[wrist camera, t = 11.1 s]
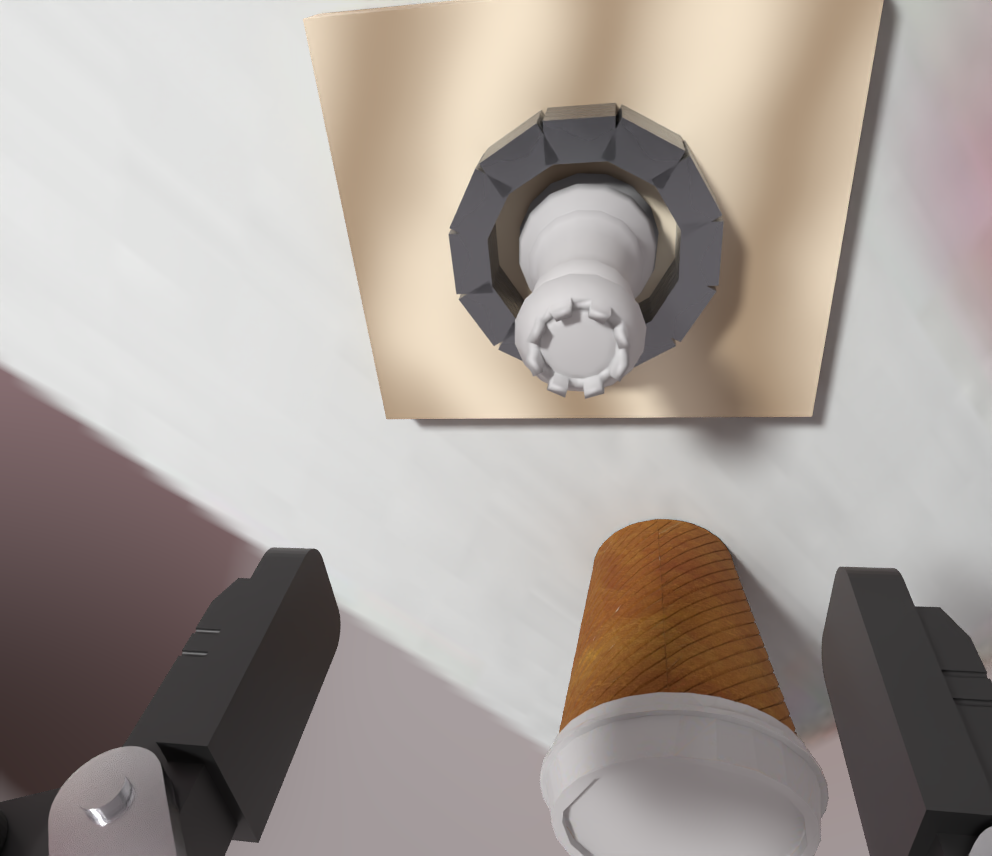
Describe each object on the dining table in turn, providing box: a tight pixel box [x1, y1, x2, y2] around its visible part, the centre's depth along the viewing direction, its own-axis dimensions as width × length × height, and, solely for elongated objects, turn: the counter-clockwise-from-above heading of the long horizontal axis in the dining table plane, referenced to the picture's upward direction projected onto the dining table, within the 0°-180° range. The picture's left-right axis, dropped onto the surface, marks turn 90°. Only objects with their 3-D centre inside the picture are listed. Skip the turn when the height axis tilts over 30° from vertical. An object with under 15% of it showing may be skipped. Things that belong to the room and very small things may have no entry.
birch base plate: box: [303, 0, 884, 419], centre depth 25 cm, size 16×14×2 cm
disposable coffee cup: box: [540, 519, 828, 856], centre depth 29 cm, size 10×10×12 cm
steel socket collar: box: [448, 103, 724, 367], centre depth 23 cm, size 8×8×2 cm
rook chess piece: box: [515, 173, 659, 399], centre depth 21 cm, size 4×4×8 cm
